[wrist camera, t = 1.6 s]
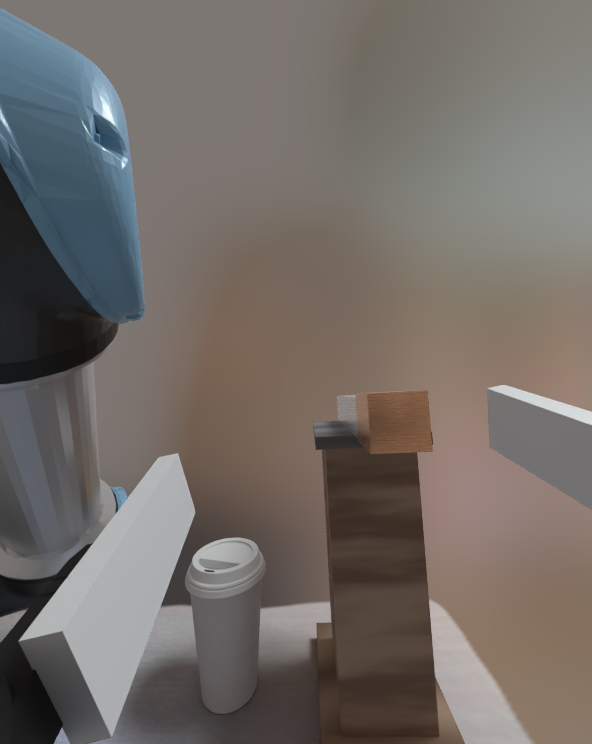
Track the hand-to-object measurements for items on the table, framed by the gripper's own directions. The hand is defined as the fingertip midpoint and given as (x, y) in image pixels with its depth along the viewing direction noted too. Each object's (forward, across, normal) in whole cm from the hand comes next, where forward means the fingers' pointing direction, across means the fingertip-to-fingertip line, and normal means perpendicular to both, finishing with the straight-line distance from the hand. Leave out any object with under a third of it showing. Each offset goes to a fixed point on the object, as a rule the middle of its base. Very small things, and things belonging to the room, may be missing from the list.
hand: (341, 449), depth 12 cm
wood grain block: (+17, +6, -8) cm, 20 cm away
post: (+12, +2, -37) cm, 39 cm away
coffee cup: (+16, -15, -36) cm, 42 cm away
